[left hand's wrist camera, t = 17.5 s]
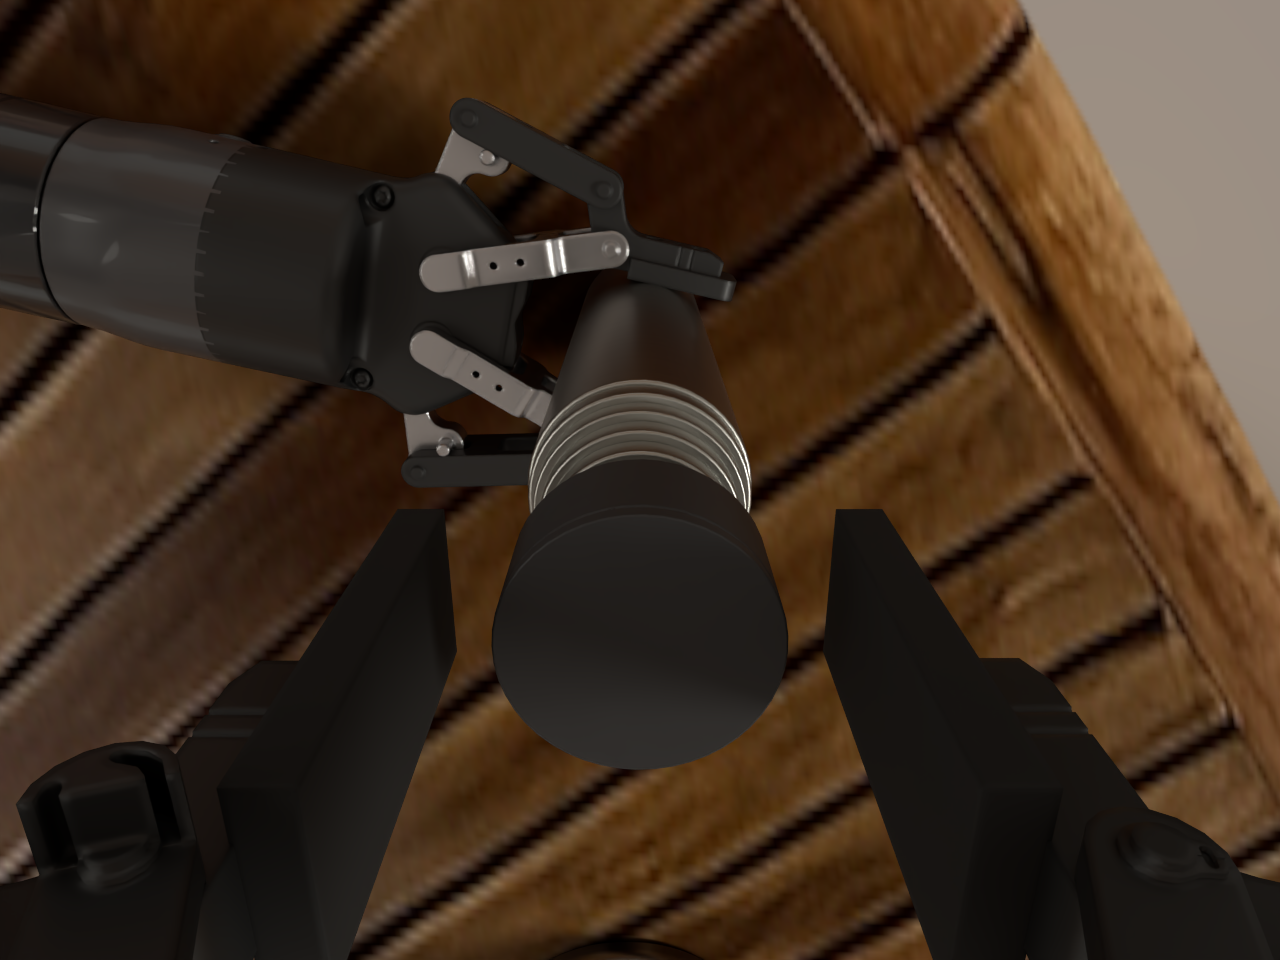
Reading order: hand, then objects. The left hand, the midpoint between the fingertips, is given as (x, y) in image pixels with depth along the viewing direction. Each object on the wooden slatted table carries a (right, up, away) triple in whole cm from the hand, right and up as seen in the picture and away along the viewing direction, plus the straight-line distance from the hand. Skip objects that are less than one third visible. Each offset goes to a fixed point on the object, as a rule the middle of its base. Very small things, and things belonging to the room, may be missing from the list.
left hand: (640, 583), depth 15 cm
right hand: (+3, +6, +17) cm, 18 cm away
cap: (0, -1, -2) cm, 2 cm away
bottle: (0, +9, +22) cm, 24 cm away
